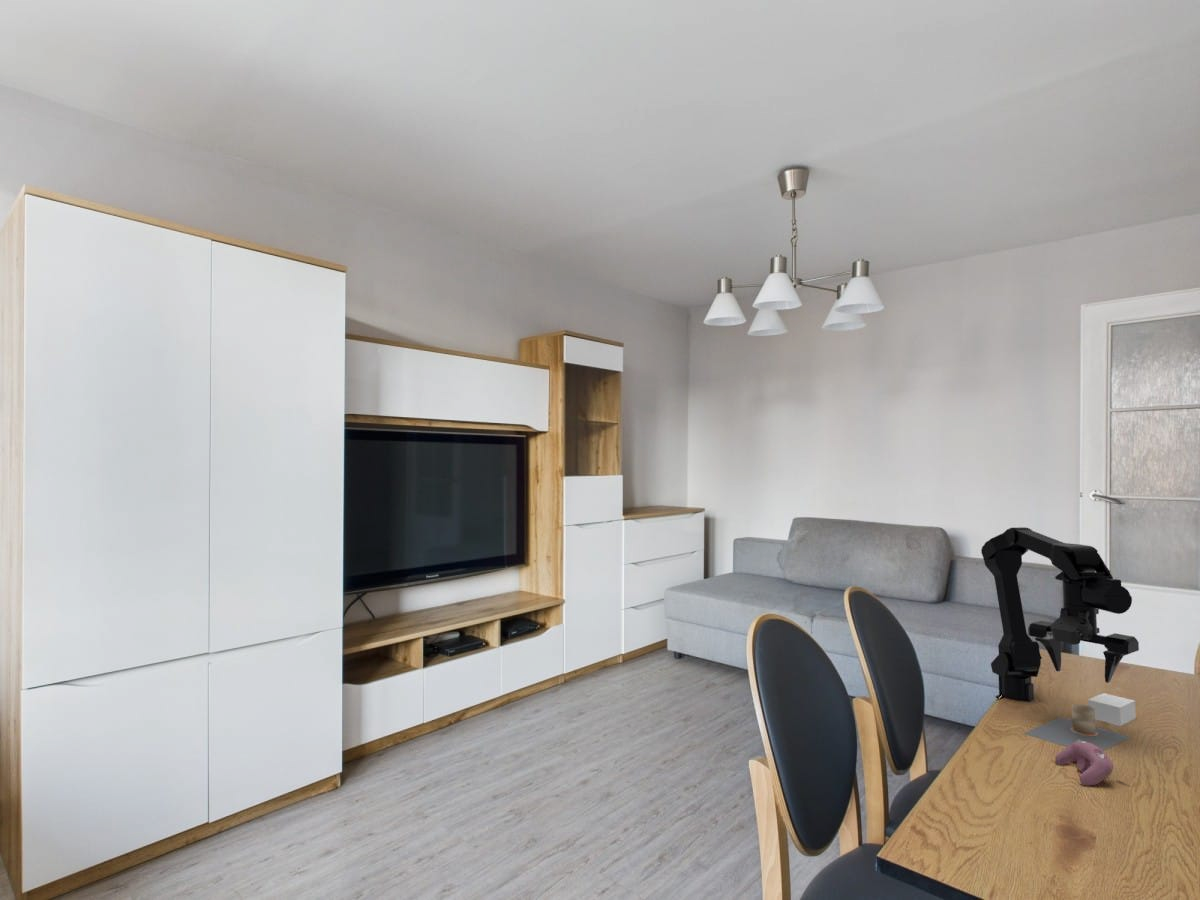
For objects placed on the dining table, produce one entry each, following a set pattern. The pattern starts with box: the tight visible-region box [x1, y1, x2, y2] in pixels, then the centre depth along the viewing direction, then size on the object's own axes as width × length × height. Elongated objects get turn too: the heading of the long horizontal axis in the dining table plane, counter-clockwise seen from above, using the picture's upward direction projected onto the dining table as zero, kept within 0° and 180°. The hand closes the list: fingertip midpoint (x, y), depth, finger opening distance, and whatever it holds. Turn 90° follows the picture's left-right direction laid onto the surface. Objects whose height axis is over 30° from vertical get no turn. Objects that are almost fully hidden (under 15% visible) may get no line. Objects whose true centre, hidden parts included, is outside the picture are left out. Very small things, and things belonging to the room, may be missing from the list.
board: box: [1023, 716, 1132, 752], centre depth 137 cm, size 13×17×1 cm
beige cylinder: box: [1071, 704, 1097, 735], centre depth 139 cm, size 4×4×5 cm
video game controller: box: [1054, 740, 1114, 787], centre depth 121 cm, size 10×5×7 cm, turn 171°
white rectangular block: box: [1087, 692, 1137, 727], centre depth 146 cm, size 6×8×5 cm
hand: (1082, 676), depth 139 cm, fingers open, 9 cm apart
